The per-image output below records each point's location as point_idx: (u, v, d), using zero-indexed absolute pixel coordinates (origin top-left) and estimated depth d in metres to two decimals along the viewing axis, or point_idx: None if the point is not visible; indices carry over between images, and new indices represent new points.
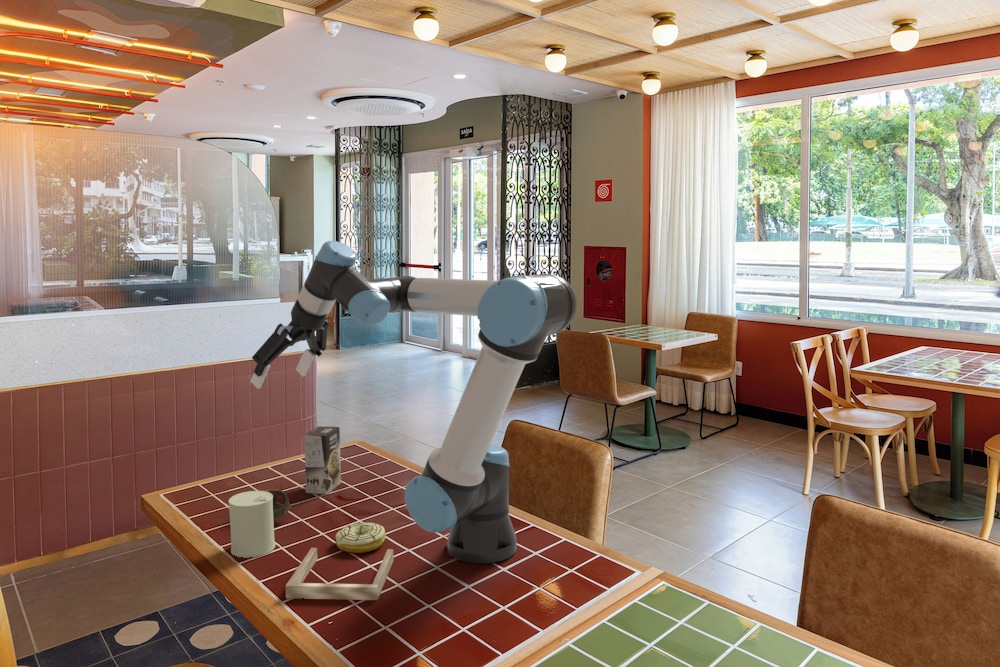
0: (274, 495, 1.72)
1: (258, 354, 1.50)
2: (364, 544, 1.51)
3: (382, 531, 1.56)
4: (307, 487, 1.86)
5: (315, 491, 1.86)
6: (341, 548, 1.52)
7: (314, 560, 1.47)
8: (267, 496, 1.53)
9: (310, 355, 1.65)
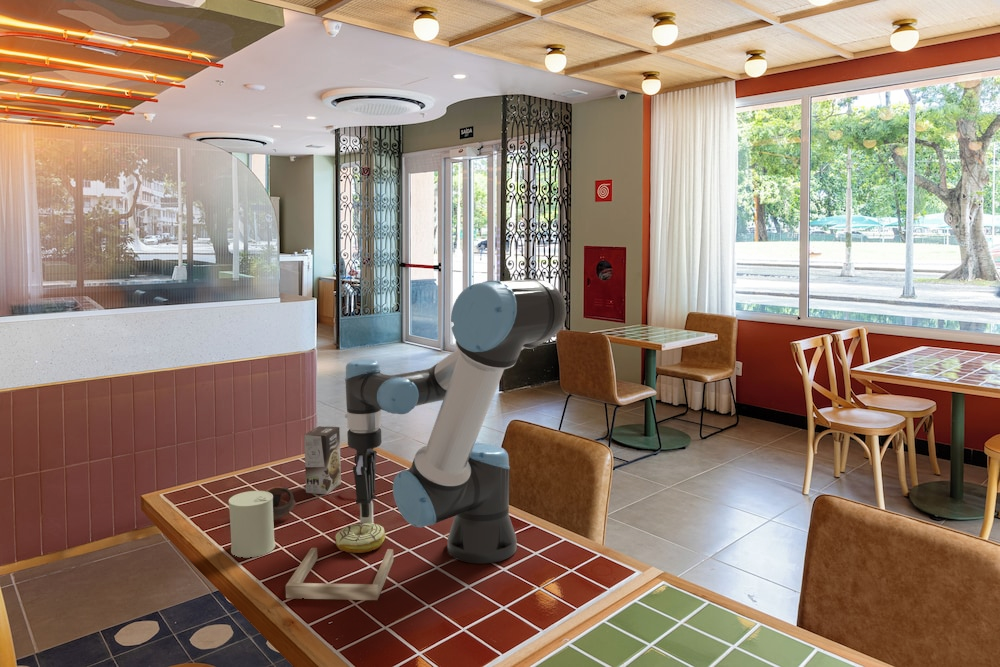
0: (278, 492, 1.74)
1: (360, 498, 1.57)
2: (364, 544, 1.51)
3: (382, 531, 1.56)
4: (307, 487, 1.86)
5: (315, 491, 1.86)
6: (341, 548, 1.52)
7: (314, 560, 1.47)
8: (267, 496, 1.53)
9: (369, 503, 1.61)
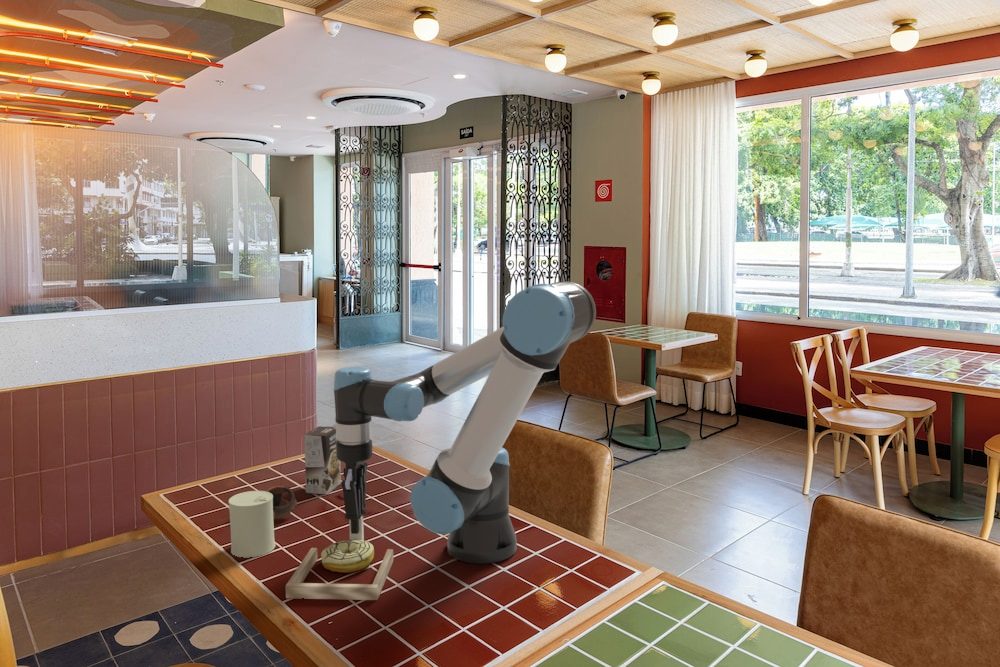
0: (280, 492, 1.74)
1: (349, 513, 1.48)
2: (350, 563, 1.42)
3: (370, 549, 1.46)
4: (307, 487, 1.86)
5: (315, 491, 1.86)
6: (326, 567, 1.43)
7: (314, 560, 1.47)
8: (267, 496, 1.53)
9: (359, 518, 1.52)
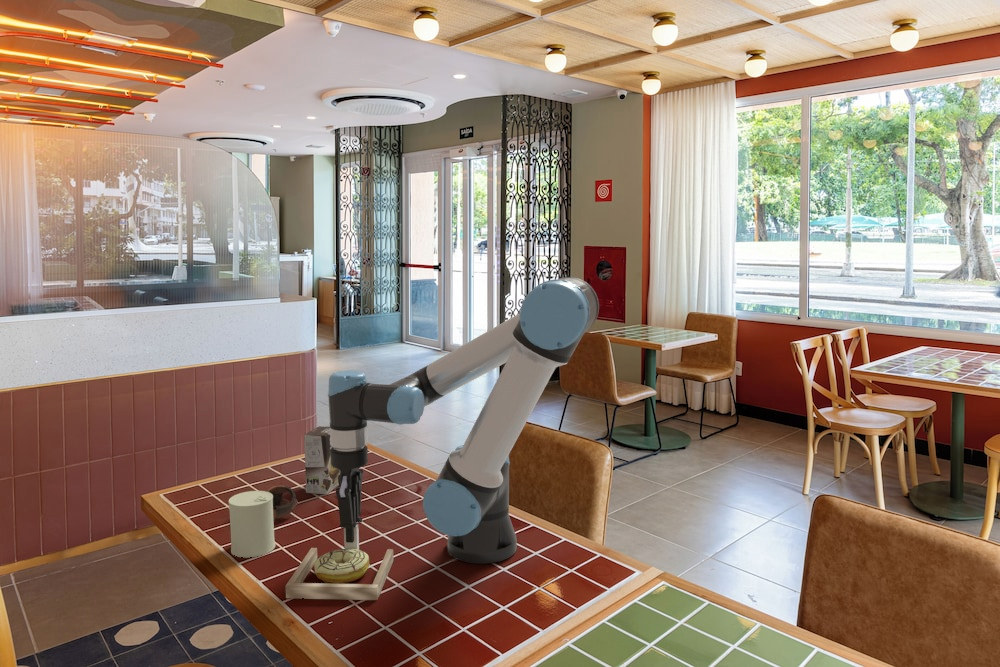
0: (280, 491, 1.75)
1: (343, 522, 1.43)
2: (343, 574, 1.37)
3: (365, 560, 1.42)
4: (307, 487, 1.86)
5: (315, 491, 1.86)
6: (319, 577, 1.39)
7: (314, 560, 1.47)
8: (267, 496, 1.53)
9: (354, 526, 1.47)
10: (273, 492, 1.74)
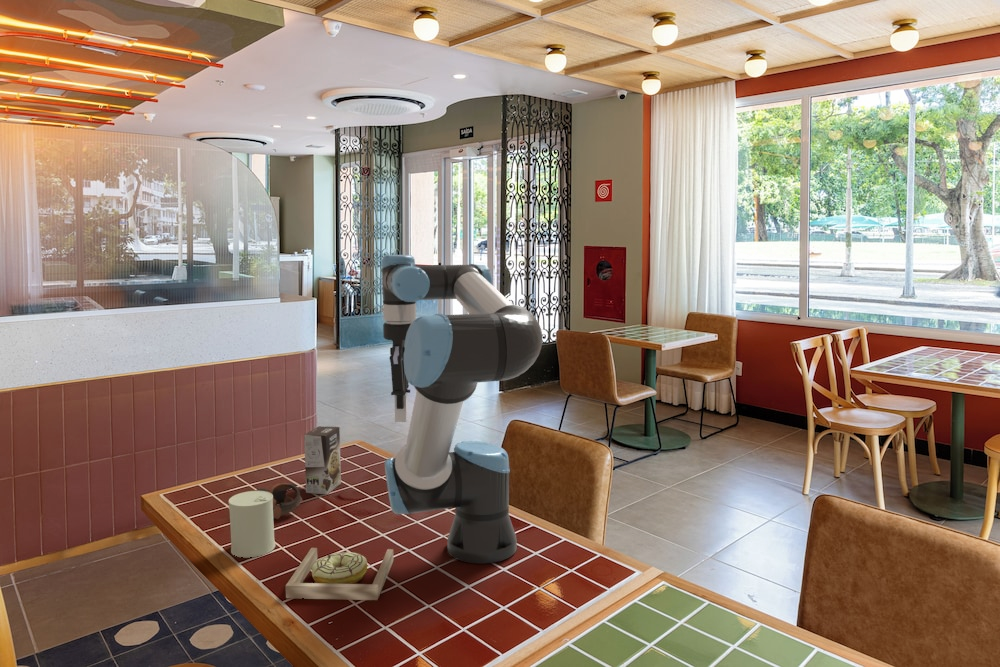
0: (284, 489, 1.76)
1: (395, 388, 1.61)
2: (339, 578, 1.36)
3: (362, 564, 1.40)
4: (307, 487, 1.86)
5: (315, 491, 1.86)
6: (316, 581, 1.38)
7: (314, 560, 1.47)
8: (267, 496, 1.53)
9: None
10: (277, 490, 1.76)
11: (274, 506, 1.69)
